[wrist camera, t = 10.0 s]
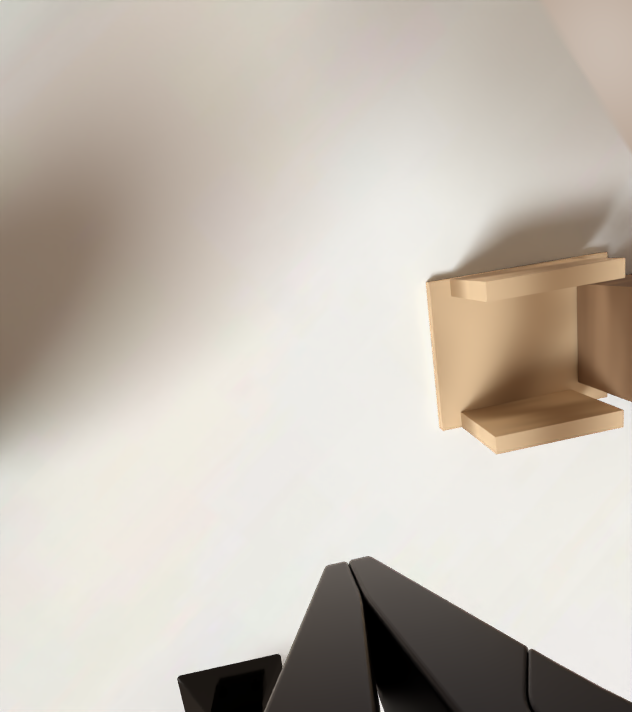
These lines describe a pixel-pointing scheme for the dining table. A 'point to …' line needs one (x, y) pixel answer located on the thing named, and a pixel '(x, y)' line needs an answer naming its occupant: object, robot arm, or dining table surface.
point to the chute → (517, 353)
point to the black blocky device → (231, 686)
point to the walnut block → (605, 336)
